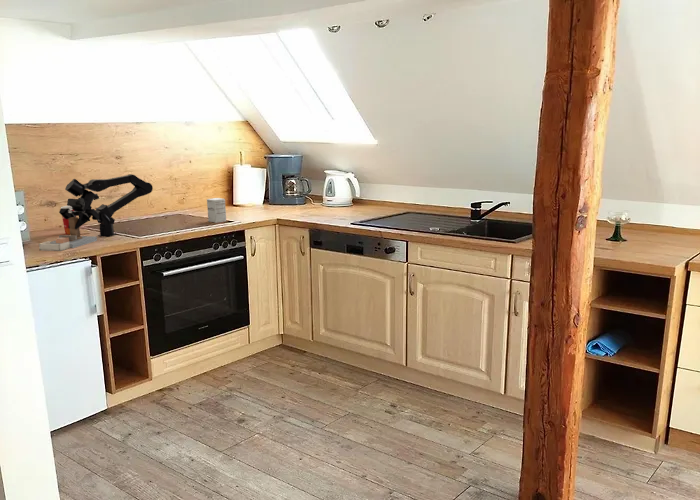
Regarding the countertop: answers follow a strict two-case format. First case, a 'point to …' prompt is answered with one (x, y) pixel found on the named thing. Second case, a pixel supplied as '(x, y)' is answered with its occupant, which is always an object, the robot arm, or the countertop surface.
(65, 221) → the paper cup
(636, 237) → the countertop surface
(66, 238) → the tile
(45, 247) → the tray
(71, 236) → the scraper
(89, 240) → the board
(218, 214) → the supplement box
